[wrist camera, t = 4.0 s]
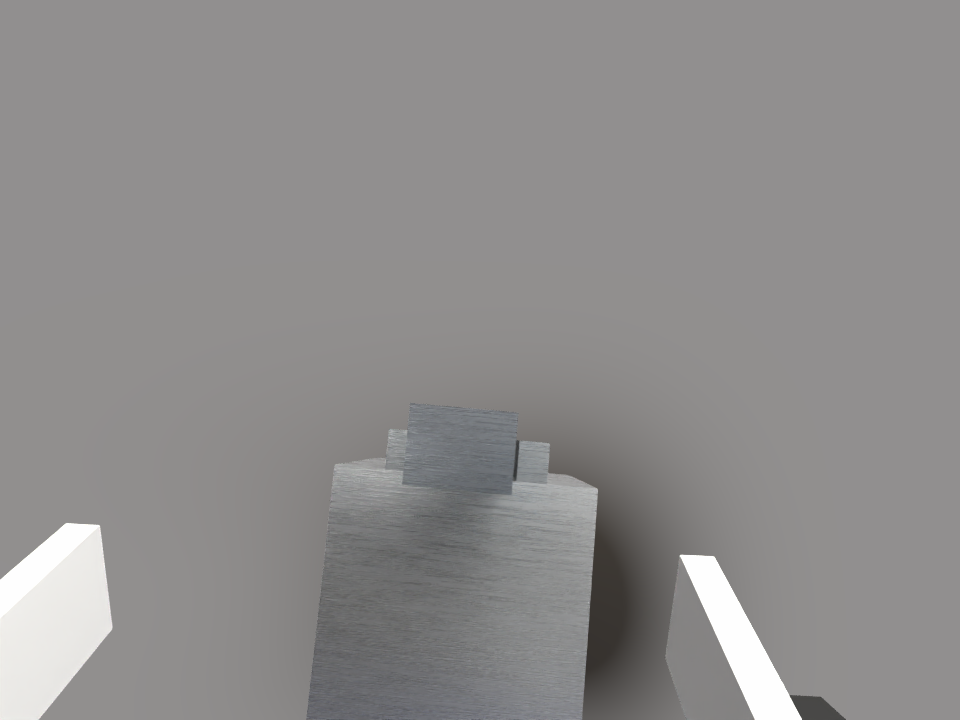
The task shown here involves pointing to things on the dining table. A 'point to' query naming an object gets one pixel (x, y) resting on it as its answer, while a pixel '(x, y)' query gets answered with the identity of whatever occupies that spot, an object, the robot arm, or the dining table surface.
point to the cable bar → (460, 449)
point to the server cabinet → (454, 595)
